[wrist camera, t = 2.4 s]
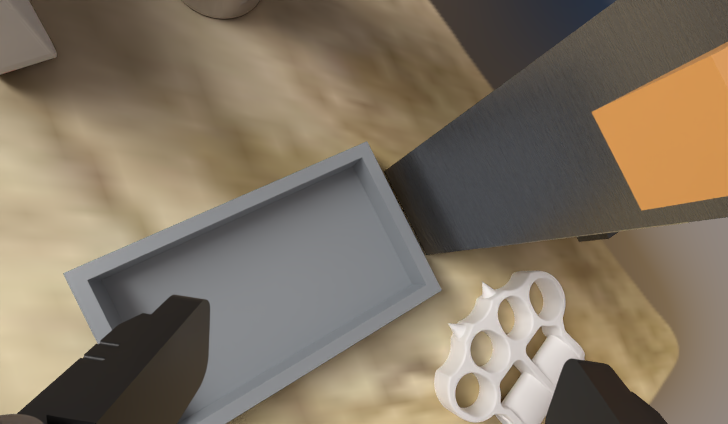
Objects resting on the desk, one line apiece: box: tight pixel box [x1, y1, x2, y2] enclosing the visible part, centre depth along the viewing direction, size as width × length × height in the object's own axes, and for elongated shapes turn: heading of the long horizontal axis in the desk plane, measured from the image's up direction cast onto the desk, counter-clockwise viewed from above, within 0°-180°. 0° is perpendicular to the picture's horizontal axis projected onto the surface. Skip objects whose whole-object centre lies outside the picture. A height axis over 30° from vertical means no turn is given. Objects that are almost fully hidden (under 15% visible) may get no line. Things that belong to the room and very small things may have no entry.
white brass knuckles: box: [434, 271, 585, 424], centre depth 44 cm, size 3×18×15 cm
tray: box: [63, 142, 442, 424], centre depth 37 cm, size 27×16×4 cm, turn 118°
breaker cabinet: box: [385, 0, 728, 255], centre depth 31 cm, size 14×11×32 cm
